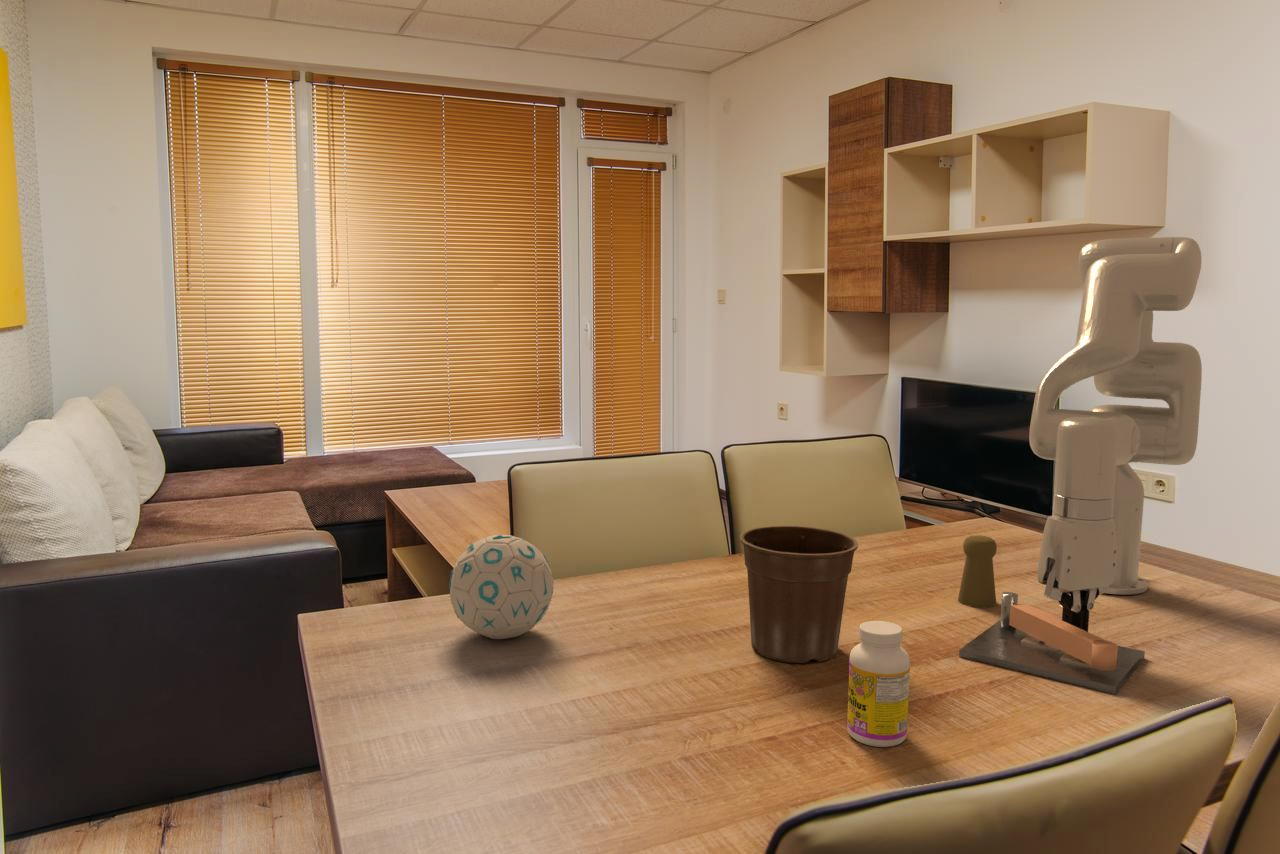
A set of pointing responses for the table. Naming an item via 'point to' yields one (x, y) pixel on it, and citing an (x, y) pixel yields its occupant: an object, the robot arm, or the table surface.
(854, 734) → the supplement bottle
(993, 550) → the cork
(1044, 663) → the panel
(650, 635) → the table surface
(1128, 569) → the robot arm
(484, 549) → the puzzle ball
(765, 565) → the plant pot
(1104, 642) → the swing bar
